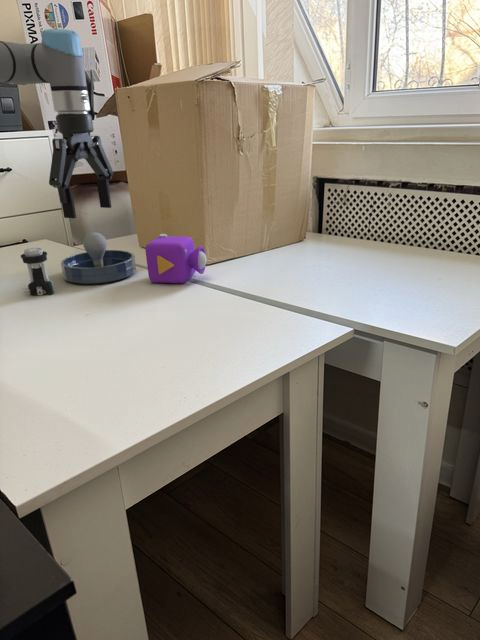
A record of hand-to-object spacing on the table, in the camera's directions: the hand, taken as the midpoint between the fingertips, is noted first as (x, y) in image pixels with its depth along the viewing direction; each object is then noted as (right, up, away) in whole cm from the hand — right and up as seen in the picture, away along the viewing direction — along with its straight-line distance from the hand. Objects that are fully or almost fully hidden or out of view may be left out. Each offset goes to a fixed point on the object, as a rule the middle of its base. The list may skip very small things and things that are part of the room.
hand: (89, 212), depth 120 cm
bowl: (+1, -14, +6) cm, 15 cm away
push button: (-9, -20, -6) cm, 23 cm away
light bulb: (+1, -14, +6) cm, 15 cm away
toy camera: (+21, -16, +2) cm, 26 cm away
